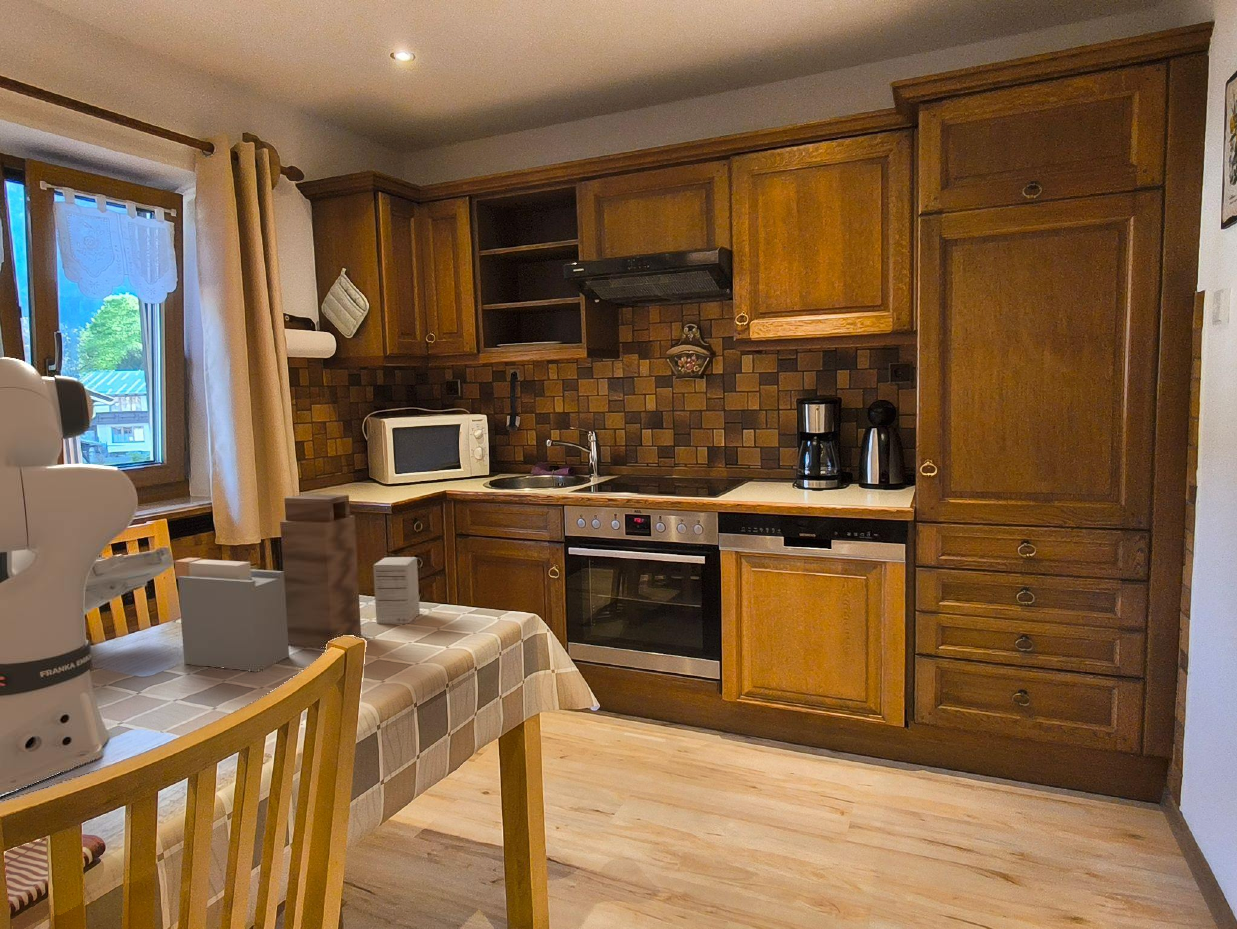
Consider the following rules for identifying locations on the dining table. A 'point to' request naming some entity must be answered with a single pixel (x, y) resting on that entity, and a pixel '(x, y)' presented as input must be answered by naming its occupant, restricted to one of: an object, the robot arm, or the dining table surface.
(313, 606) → the holster tower
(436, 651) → the dining table surface
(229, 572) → the beige rectangular bar
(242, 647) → the block
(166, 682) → the dining table surface
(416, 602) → the supplement box
